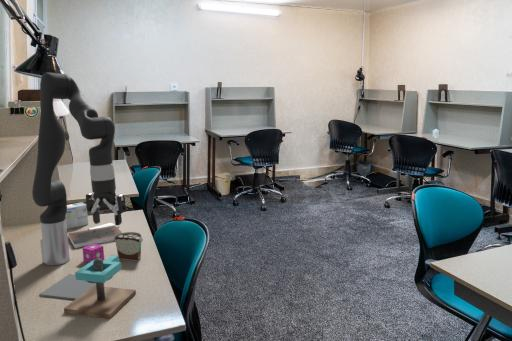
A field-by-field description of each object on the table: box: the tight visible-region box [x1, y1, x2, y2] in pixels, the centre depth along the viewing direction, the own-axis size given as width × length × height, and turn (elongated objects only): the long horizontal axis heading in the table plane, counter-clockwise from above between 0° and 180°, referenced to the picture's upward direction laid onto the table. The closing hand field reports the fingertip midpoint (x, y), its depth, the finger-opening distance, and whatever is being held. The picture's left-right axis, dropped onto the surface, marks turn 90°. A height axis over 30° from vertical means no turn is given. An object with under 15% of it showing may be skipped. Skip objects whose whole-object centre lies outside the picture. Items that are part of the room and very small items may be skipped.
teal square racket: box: [74, 254, 122, 284], centre depth 140 cm, size 10×15×2 cm, turn 167°
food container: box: [114, 231, 144, 262], centre depth 176 cm, size 12×6×10 cm, turn 74°
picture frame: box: [67, 225, 123, 249], centre depth 200 cm, size 16×2×22 cm
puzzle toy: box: [81, 244, 105, 264], centre depth 174 cm, size 6×6×6 cm
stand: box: [63, 258, 137, 319], centre depth 138 cm, size 16×16×16 cm
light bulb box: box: [66, 201, 89, 230], centre depth 218 cm, size 11×7×11 cm, turn 130°
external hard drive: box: [87, 222, 120, 230], centre depth 213 cm, size 2×8×12 cm
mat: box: [38, 273, 96, 301], centre depth 151 cm, size 15×16×1 cm
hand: (107, 224), depth 146 cm, fingers open, 8 cm apart
